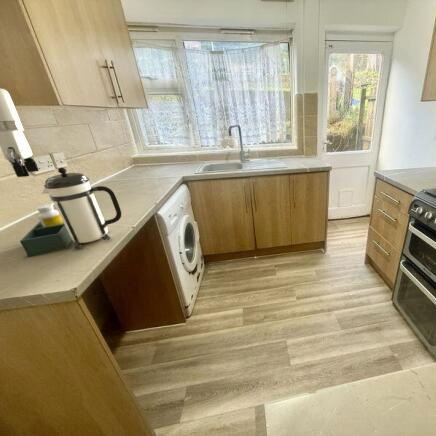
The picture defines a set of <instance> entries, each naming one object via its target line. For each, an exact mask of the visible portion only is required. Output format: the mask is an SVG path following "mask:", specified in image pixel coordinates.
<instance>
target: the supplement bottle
mask: <svg viewBox="0 0 436 436" xmlns="http://www.w3.org/2000/svg"><path fill="white" fill-rule="evenodd" d="M36 210H37V211H38V212H39V214H38V215H37V218H38V220H39V222H41V224H42V226H43V227H49V226H55V225H61V224H64V222H63V220H62V218H61V216H60V214H59V212H58V210H57V209H54V204H45V205H41V206H38V207H36Z"/></svg>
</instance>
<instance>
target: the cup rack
mask: <svg viewBox="0 0 436 436" xmlns="http://www.w3.org/2000/svg"><path fill="white" fill-rule="evenodd" d="M71 241H72V239H71V237H70V235H69V233H68V231H67V229H66V227H65V225H64V224H61V225H55V226H49V227H43V226H42V224H41V222H40V221H38V222H37V223H36V225H34V227H32V229H30V230H29V231H28V233H27V234H25V235H24V236H23V237H22V238H21V239H20V240H19V242H20V244H21V246H22V248H23V250H24V252H25V253H26V255H27V257H33V256H38V255H42V254H47V253H51V252H56V251H61V250H64V249H67V247H68V246H69V244H70V243H71Z"/></svg>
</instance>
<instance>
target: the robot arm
mask: <svg viewBox="0 0 436 436" xmlns="http://www.w3.org/2000/svg"><path fill="white" fill-rule="evenodd" d="M24 131H25V128H24V125H23V123H22V121H21V118H20V116H19V114H18V111H17V109H16V106H15V104H14V101H13V99H12V96H11V95H10V93H9V91H7V90H6V89H5V88H0V149H1V152H2V154H3V157H4V158H5V160H7V161H8V162H9V163H10V166H11V167H12V169H13V171H14V173H15V175H16V177H17V178H24V177H29V176H30V173H33V172H34V173H35V172H39V170H40V169H39V168H38V165H37V162H36V159H35V157H34V154H33V150H32V148H31V146H30V144H29V142H28V140H27V138H26V136H25V133H24Z"/></svg>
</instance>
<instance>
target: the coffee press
mask: <svg viewBox="0 0 436 436" xmlns="http://www.w3.org/2000/svg"><path fill="white" fill-rule="evenodd" d="M57 172H58V173H59V174H56V175H53V176H49V177H48V178H46V179H45V182H44V185H43V187H44V188H43V190H42V192H41V194H42V195H45V194H49V199H50V200H51V202H53V205H54V206H55V208H56V210H57V211H58V212H59V214H60V216H61V218H62V220H63V222H64V225H65V227H66V229H67V231H68V233H69V235H70V237H71V241H73V243H74V249H78V250H79V249H80V248H82V247H83V245H84V244H86V243H90V242H94V241H97V240H99V239H103V240H104V241H106V240H107V241H109V240H110V239H111V236H110V235H108V233H109V229H108V226H109V225H111V224H114V223H116V222H118V221H119V220H121V217H122V209H121V207H120V204H119V202H118V199H117V197H116V194H115V192H114V190H112V189H111V188H109V187H107V186H105V185H98V186H94V187H92V186H91V184H90V178H89V177H87V175H85V174H84V173H82V172H67V169H66V168H65V167H59V168H58V169H57ZM102 191H103V192H105V193H107V194H108V195H109V197H110V199H111V202H112V204H113V207H114V210H115V216H114V217H113V218H111V219H110V218H109V219H106V220H105V218H104V216H103V213H102V211H101V209H100V206H99V204H98V201H97V199H96V195H95V192H102Z"/></svg>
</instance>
